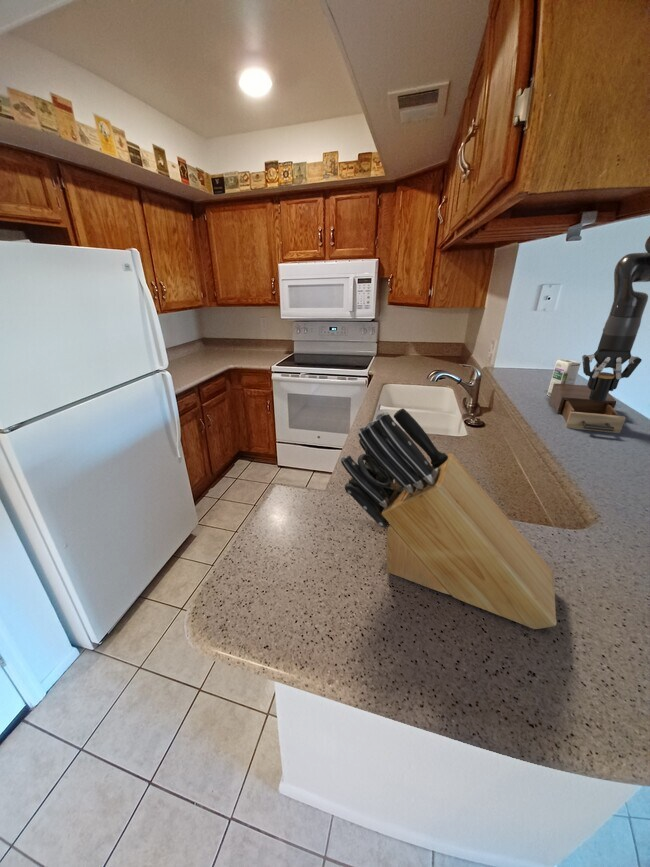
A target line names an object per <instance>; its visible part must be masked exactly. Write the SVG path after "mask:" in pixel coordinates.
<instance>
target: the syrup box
mask: <svg viewBox="0 0 650 867" xmlns="http://www.w3.org/2000/svg"><path fill="white" fill-rule="evenodd" d="M581 363H582V362H580V361H575V360H572V359H569V358H563V359H557V360H556V361H555V364H554V368H553V372H552V375H551V379H550V382H549V386H548V389H547V393H546V396H547V395H548V397H550V396H551V392H552V388H553V385H554V383H555V384H570V385H575V383H576V379H577V375H578V373H579V370H580V367H581Z"/></svg>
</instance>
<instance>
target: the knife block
mask: <svg viewBox="0 0 650 867" xmlns="http://www.w3.org/2000/svg"><path fill="white" fill-rule="evenodd" d="M393 418H394V419H393ZM393 418H392V416H391V414H390V413H389V412H388V411H385V412H381V413H379V414H377V415H376V417H375V420H373V421H370V422H368V423H367V424H366V426H362V427H361V428H359V429H358V430H357V435H358V437H359V439H358V443H359V445H360V447H361V448H362V449H363V451H364V453H362V454H360V455H359V456H358V457H357V462H356V461H355V460H354V459H353V458H352V456H351V455H350V454H347V455H345V456H343V457H342V458H340V462H341V465H342V466H343V468H344V469H345V471H346V472H347V473H348V474H349V476H350V478H349V479H348V482H347V483H345V485H344V490H345V492H346V493H347V494H348V495H350V496H351V497H352V498H353V499H354V501H356V502H357V503H358V505H359V506H360V507H361V508H362V509H363V510H364V511H365V512H366V513H367V514H368V515H369V516H370V517H371V518H372V519H373V520H374V521H375V522H376V523H377V524H378V525H379V526H380V527H381V528H384V529H385V528H386V529H387V530H386V572H387V573H389V574H392V575H395V576H397V577H399V578H402V579H405V580H407V581H410V582H413V583H415V584H418V585H421V586H422V587H426V588H428V589H431V590H434V591H437V592H440V593H443V594H445V595H449V596H451V597H452V598H454V599H456V600H459V601H461V602H463V603H466V604H469V605H471V606H474V607H476V608H479V609H481V610H484V611H487V612H489V613H492V614H494V615H497V616H499V617H502V618H505V619H508V620H510V621H512V622H516V623H518V624H520V625H522V626H525V627H527V628H530V629H533V630H540V629H546V628H551V627H552V628H553V627H556V626H557V610H556V590H555V578H554V571H553V570H552V569H551V567H549V566H550V565H548V563H546V561H545V560H544V559H543V558H542V557H541V555H539V553H538V552H537V551H536V550H535V549H534V547H533V546H532V545H531V544H530V542H529V541H528V540H527V539H526V538H525V537H524V536H523V534H522V533H521V532H520V531H519V530H518V528H516V526H515V525H514V524H513V522H512V521H511V520H510V519H509V518H508V517H507V516H506V515H505V514H504V512H503V511H502V510H501V509H500V508H499V506H498V505H497V504H496V503H495V502H494V501H493V499H492V498H491V497H490V496H489V495H488V493H487V492H486V491H485V490H484V489H483V488H482V486H481V485H480V484H479V483H478V482H477V481H476V479H475V478H474V477H473V476H472V475H471V474H470V472H469V471H468V470H467V469H466V468H465V467H464V465H463V464H462V463H461V462H460V461H459V460H458V458H456V457H455V455H454V454H453V453H448V454H446V452H441V451H439V449H438V448H437V447H436V446H435V445H434V443H433V441H432V440H431V438H430V437H429V436H428V433H426V431H425V430H424V428H423V427H422V426H421V425H420V424H419V423H418V421H416V419H415V418H414V417H413V416H412V415H411V414H410V413H409V412H408V411H407V410H406V409H405V408H400V409H398V410H397V411H396V412H395V413H394V415H393ZM395 421H396V422H397V423H396V422H395ZM417 445H418V446H419V447H418V446H417ZM421 449H422V450H423V451H424V453H425V454H426V455H427V456H428V458H429V459H430V462H429V461H428V459H427V458H426V457H425V455H424V453H423V452H422V451H421Z"/></svg>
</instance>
